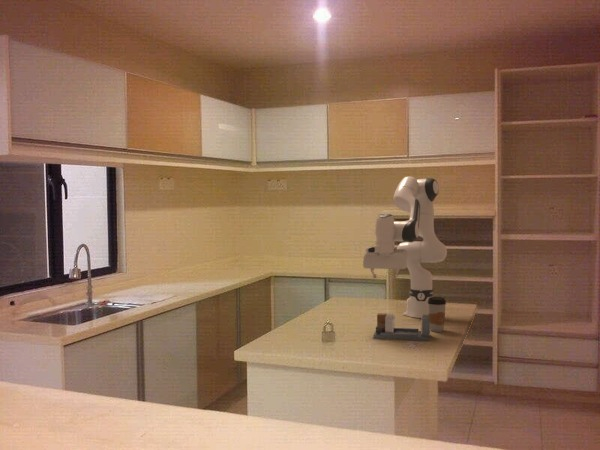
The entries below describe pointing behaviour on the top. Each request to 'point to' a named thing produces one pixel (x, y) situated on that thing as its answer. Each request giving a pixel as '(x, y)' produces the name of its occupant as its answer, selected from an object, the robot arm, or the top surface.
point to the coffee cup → (437, 313)
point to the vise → (408, 332)
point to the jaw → (387, 324)
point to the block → (381, 319)
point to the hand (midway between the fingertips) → (384, 278)
